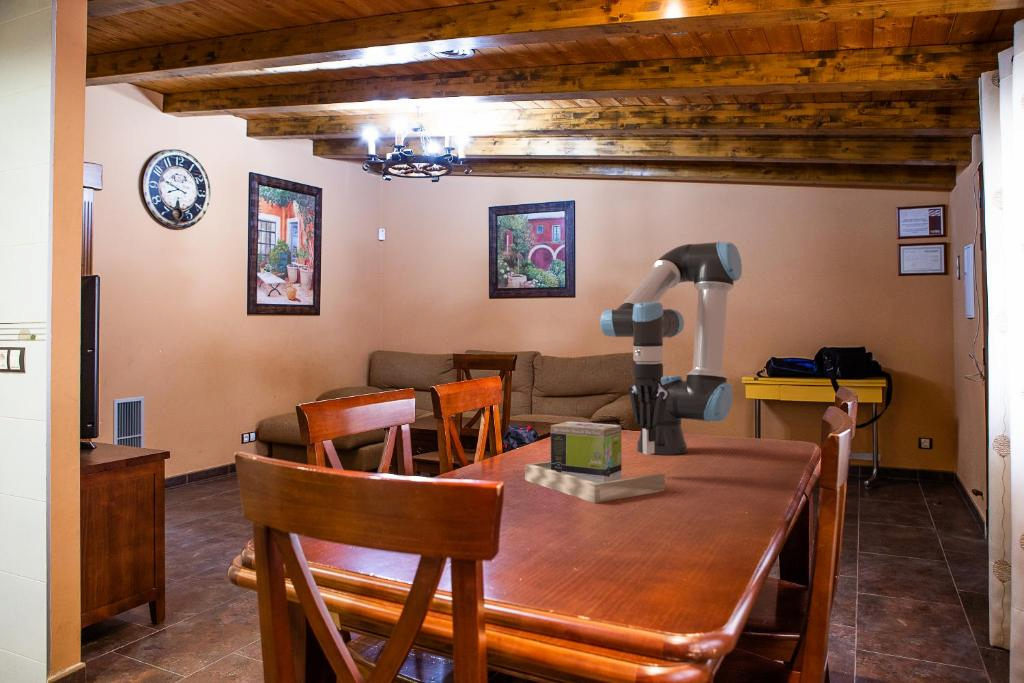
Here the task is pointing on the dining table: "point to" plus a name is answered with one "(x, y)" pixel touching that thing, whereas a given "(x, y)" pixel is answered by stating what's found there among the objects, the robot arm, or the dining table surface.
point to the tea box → (587, 451)
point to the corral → (593, 484)
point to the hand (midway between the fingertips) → (648, 453)
